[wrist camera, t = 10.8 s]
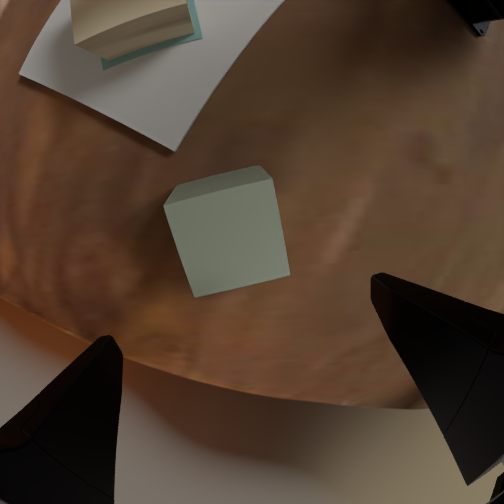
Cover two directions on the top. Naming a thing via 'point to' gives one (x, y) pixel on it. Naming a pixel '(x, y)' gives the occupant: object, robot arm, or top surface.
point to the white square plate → (150, 67)
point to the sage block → (228, 230)
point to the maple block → (127, 24)
